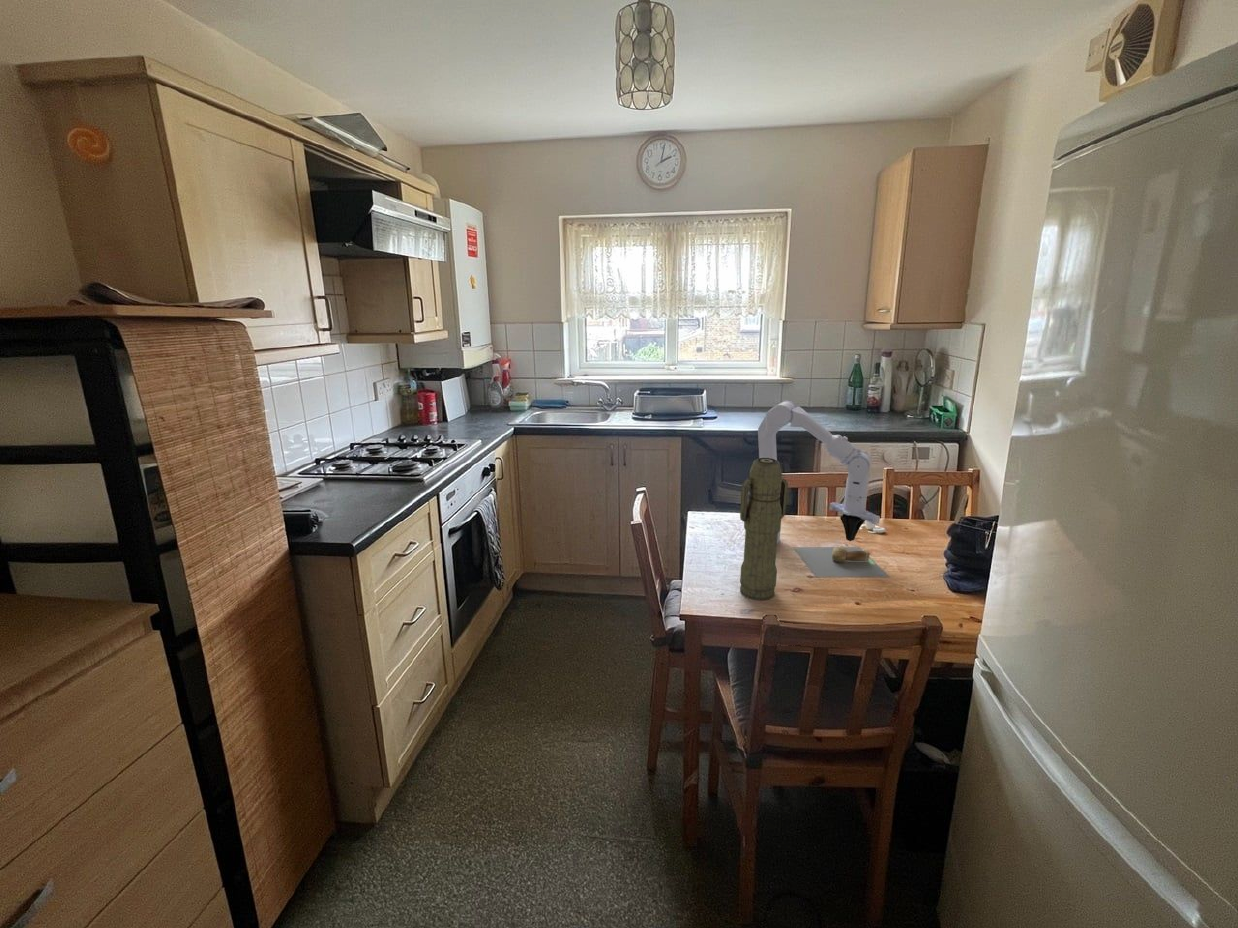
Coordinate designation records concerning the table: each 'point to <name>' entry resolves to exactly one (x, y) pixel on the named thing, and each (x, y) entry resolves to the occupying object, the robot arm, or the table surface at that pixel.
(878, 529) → the teacup and saucer
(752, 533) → the olive green tall cylinder
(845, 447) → the robot arm
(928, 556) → the table surface
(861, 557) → the olive brown knobbed bar
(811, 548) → the board
